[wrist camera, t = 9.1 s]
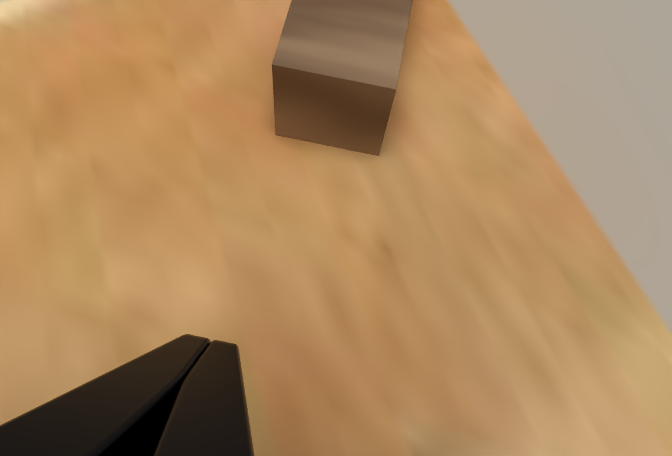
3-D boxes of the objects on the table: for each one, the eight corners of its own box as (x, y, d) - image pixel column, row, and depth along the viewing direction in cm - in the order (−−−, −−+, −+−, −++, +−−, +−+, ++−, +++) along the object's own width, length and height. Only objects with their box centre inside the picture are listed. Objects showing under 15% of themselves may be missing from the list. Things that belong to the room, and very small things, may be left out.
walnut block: (396, 89, 22) (432, -107, 27) (272, 64, 22) (330, -126, 27) (378, 156, 27) (411, -22, 32) (275, 135, 27) (325, -39, 32)
